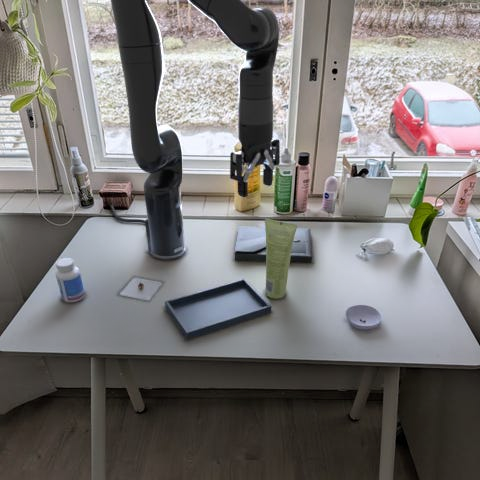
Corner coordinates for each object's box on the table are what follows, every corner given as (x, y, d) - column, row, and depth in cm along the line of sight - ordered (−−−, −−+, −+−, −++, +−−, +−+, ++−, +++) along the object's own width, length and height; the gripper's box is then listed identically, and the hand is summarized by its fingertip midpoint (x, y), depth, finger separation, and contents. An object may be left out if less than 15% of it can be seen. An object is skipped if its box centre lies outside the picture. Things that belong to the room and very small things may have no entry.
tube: (282, 285, 126) (287, 214, 114) (291, 296, 122) (297, 224, 110) (262, 290, 124) (264, 218, 112) (269, 301, 121) (273, 228, 108)
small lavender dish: (351, 307, 119) (353, 301, 118) (384, 318, 116) (386, 311, 114) (339, 325, 113) (340, 319, 112) (373, 337, 110) (375, 330, 109)
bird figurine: (372, 268, 135) (398, 249, 138) (368, 246, 131) (395, 228, 134) (359, 263, 139) (384, 245, 142) (355, 242, 135) (381, 224, 138)
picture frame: (234, 260, 135) (311, 263, 134) (234, 251, 134) (312, 254, 133) (238, 232, 148) (309, 235, 147) (238, 223, 146) (310, 226, 145)
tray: (244, 284, 126) (244, 278, 125) (271, 312, 117) (271, 305, 116) (165, 307, 118) (164, 301, 117) (187, 339, 109) (186, 333, 108)
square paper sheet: (162, 282, 127) (162, 276, 126) (148, 300, 121) (147, 294, 120) (134, 277, 129) (133, 271, 127) (119, 294, 123) (117, 288, 121)
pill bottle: (89, 292, 123) (81, 258, 117) (77, 304, 119) (68, 270, 113) (70, 288, 125) (61, 254, 119) (57, 300, 121) (47, 265, 115)
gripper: (264, 108, 113) (263, 177, 123) (219, 122, 105) (222, 195, 115) (290, 114, 109) (287, 185, 119) (246, 129, 101) (246, 204, 111)
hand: (255, 190), depth 117 cm, fingers open, 8 cm apart
